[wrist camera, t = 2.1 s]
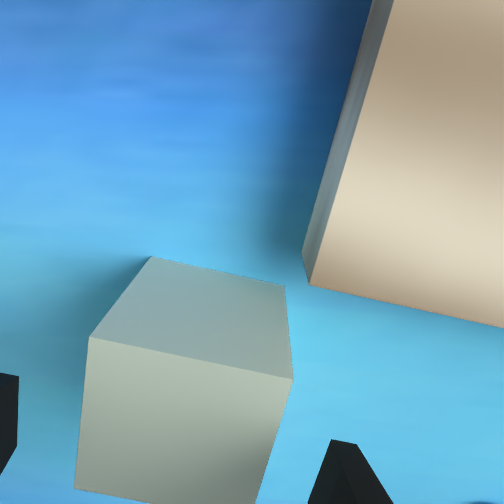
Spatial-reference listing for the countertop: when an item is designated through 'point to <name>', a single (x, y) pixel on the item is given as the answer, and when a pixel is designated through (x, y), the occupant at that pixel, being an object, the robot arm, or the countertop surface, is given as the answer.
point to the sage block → (185, 387)
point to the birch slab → (418, 164)
